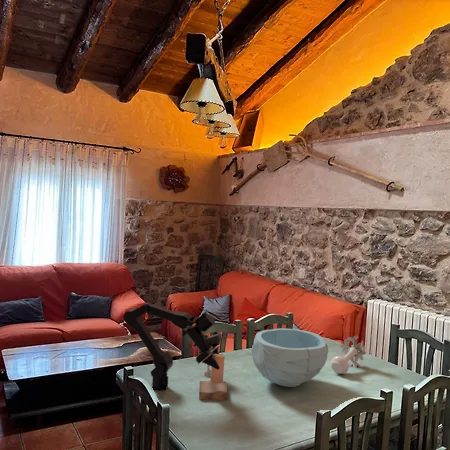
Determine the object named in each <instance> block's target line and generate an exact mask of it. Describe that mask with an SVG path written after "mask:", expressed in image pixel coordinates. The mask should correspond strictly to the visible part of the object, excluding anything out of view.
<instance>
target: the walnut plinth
mask: <svg viewBox="0 0 450 450" xmlns="http://www.w3.org/2000/svg"><path fill="white" fill-rule="evenodd" d="M198 389H199V391H198V400H213V401H214V400H217V401H218V400H219V401H220V400H221V401H225V400H226V401H227V400H228V388H227V382H226V381H223V382H222V383H218V384H217V383H212V382H211V381H209V380H200V381H199V387H198Z"/></svg>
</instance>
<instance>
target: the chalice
mask: <svg viewBox="0 0 450 450" xmlns="http://www.w3.org/2000/svg"><path fill="white" fill-rule="evenodd" d="M206 367H207V368H206V369H204V372H203V374H202V376H203V377H205V378H206V377H207V378H211V366H210V365H207V364H206Z"/></svg>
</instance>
